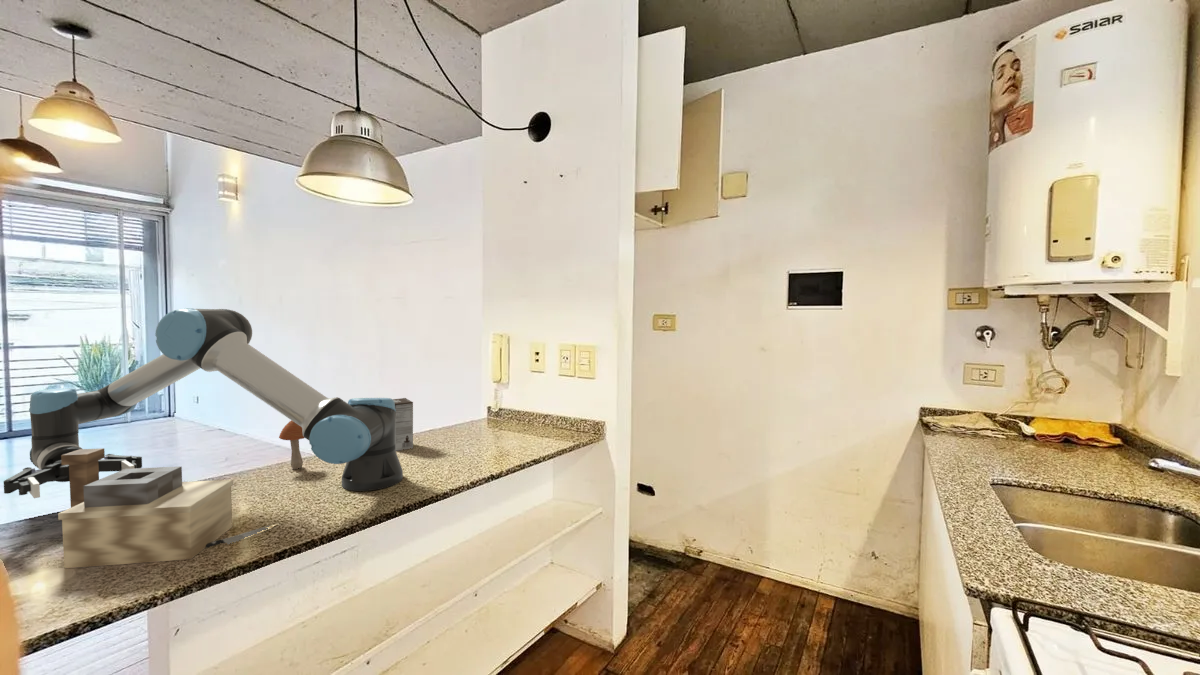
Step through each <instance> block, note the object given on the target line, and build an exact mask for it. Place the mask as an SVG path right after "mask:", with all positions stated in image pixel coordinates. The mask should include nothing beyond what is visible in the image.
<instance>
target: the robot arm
mask: <svg viewBox="0 0 1200 675" xmlns="http://www.w3.org/2000/svg"><path fill="white" fill-rule="evenodd" d="M252 328H253V327H252V324H251V323H250V320H248V319H247V318H246V316H244V314H242V313H240V312H238V311H236V310H233V309H226V308H217V309H215V308H214V309H213V308H212V309H211V308H193V307H188V308H186V307H185V308H183V309H181V308H180V309H175V310H172V311H170V312H168V313H166V314H165V315H163V317H162V318H160V320H159V322H158V324H157V326H156V328H155V334H154V335H155V337H156V339H155V342H156V346H157V348H158V350H159V351H160V352H161V353H162V354H161V355H160V356H157V357H156V358H154V359H151V361H148V362H147V363H145V364H143V365H141V366H140V367H138V368H136V369H135V370H134V369H133V371H131V372H129V373H126V375H123V376H122V377H120V378H118V379H116V380H115V381H112V382H111V383H110V384H107V385H106V386H104V387H102V388H100V389H98V390H94V391H88V392H80V393H78V392H77V390H76V389H74V388H71V387H63V388H62V387H60V388H50V389H48V388H47V389H41V390H36V391H33V392H32V393H31V395H30V401H29V409H28V411H29V415H30V427H31V428H30V429H31V440H30V441H31V447H30V448H31V449H30V450H29V459H30V462H31V464H33V465H34V467H33V468H32V467H27V466H26V467H24V468H22V471H20V472H18V473H15V474H13V475H12V476H11V477H8V478H6V479H4V480H3V494H8V495H9V494H11V493H14V492H15V491H17V490H18V496H24V495H28V493H29V494H30V495H31V496H32V498H34V499H38V498H41V489H40V488H41V487H40V486H41V485H43V484H46V483H53V482H58V483H66V482H67V483H68V482H70V479H69V465H62V462H61V455H64V454H67V453H70V452H73V451H76V450H79V449H83V448H82V447H81V446H80V444H79V443H80V441H79V425H81V424H87V423H89V422H95V421H98V420H105V419H108V418H114V417H119V416H122V415H125V414H128V413H131V412H132V411H134V409H135V408H136V406H137V405H138V403H140V402H142V401H144V400H146V399H147V398H149V397H152V396H153V395H155V394H156V393H158V392H160V391H162V390H163V389H166V388H167V387H170V386H171V385H172V384H175V383H177V382H178V381H180V380H181V379H183V378H186V377H187V376H189V375H191V374H193V373H194V372H196V371H198V370H200V369H202V370H203V371H205V372H208V373H211V372H217V371H218V372H219V373H220V374H222V375H224V376H225V377H226V378H228V379H229V380H231V381H233V383H235V384H237V385H238V386H240V387H242V388H243V389H244V390H245V391H247V392H249V393H250V394H252V395H253V396H255V397H256V398H258V399H260V401H262V402H264V403H265V404H267V405H268V406H270V407H271V408H273V409H274V410H275V411H276V412H278V413H280V414H281V415H282V416H284V417H286V418H287V419H289V421H291V420H292V421H293V422H295V423H296V424H298V425H299V426H301V427H302V433H303V437H304V439H306V440H307V441H308V442H309V445H310V447H311V448H310V449H311V451H312V453H313V454H314V455H315V456H316V457H317V459H319V460H320V461H323V462H325V463H327V464H328V463H329V464H333V465H341V464H345V466H344V469H343V472H342V475H341V487H342V488H343V489H345V490H349V491H353V492H355V491H357V492H358V491H359V492H365V491H376V490H381V489H385V488H388V487H392V486H394V485H398V484H399V483H400V482H401V481H403V478H404V477H403V474H404V473H403V472H404V471H403V468H402V465H401V462H400V459H399V458H398V454H397V451H396V448H395V412H396V409H395V402H394V400H393V399H394V398H393V399H392V398H390V397H358V398H357V397H356V398H350V399H349V400H348V401H347V402H346V401H345V400H343V399H342V398H341V397H331V398H329V397H327V396H325V395H324V394H323V393H321V392H320V391H319V390H317V389H315V388H313V387H312V386H311V385H309V384H308V383H306V381H305V382H304V381H303V380H302V379H301V378H299V377H298V376H296V375H294V373H292V372H290V370H287V369H286V368H284V367H282V366H281V365H280V364H278V363H277V362H275V361H274V360H272V359H271V358H270V357H268V356H267V355H265V354H264V353H262V351H261V352H260V350H258V349H256V348H254V347H253V346H252V345H250V342H251V340H252V337H253V329H252ZM98 466H99V473H100V472H102V473H104V472H119V471H121V470H124V469H133V468H143V456H139V455H138V456H136V455H135V456H133V455H120V454H119V455H117V454H114V453H107V454H105V458H103V459H100V460H98ZM36 468H37V469H36Z"/></svg>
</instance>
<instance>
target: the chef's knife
mask: <svg viewBox="0 0 1200 675" xmlns="http://www.w3.org/2000/svg"><path fill="white" fill-rule="evenodd" d="M269 526H270V525H266V526H262V527H259V528H256V529H252V530H249V531H246V532H243V533H239V534H236V535H232V536H228V537H225V538H222V539H216V540H215V541H214V542H211V543H208V544H207V545H206V547H205V549H206V548H210V546H211V547H214V546H217V545H221V544H225V543H227V544H226V545H231V544H233V543H232V542H234V543H237V542H240V541H242V540H241V539H243V540H245V539H244V538H245V537H248V536H251V535H253V534H257V532H260V531H262V530H266V529H268V528H265V527H269ZM257 535H258V534H257ZM251 537H252V536H251ZM248 538H249V537H248ZM239 540H240V541H239ZM236 541H237V542H236ZM220 543H221V544H220ZM230 543H231V544H230Z"/></svg>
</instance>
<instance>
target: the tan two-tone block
mask: <svg viewBox="0 0 1200 675" xmlns="http://www.w3.org/2000/svg"><path fill="white" fill-rule="evenodd" d="M233 486H234V479H217V480H216V479H215V480H198V481H195V480H194V481H183V467H182V466H166V467H165V466H163V467H157V466H156V467H142V468H133V469H124V470H121V471H115V472H114V473H112V474H110V475H109V474H108V475H107V476H105V477H102V478H99V480H97V481H95V482H92V483H90V484H87V485H85V486H83V488H84V502H83V503H80V504H78V505H76V506H74V507H72V508H71V507H70V508H67V509H65V510H63V511H61V512H59V513H57V515H58V516H57V517H58V518H57V519H58V521H61V528H62V548H63V551H62V552H63V568H64V569H74V568H88V567H100V566H101V567H102V566H116V565H129V564H141V563H145V564H146V563H155V562H168V561H169V562H171V561H183V560H186V561H187V560H192V559H193V558H195V557H196V556H197V555H198V554H199V553H201V552H203V550H204V549H206V548H205V547H206V545H207V544H208V543H211V542H214V541H217V540H218V539H219V538H220V537H221V536H223V535H224V534H225V533H226V532H227V530H228V531H229V530H230V529H232V528H233V506H232V505H233V503H232V499H233V498H232V487H233Z"/></svg>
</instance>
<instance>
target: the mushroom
mask: <svg viewBox="0 0 1200 675" xmlns="http://www.w3.org/2000/svg"><path fill="white" fill-rule="evenodd" d="M278 439H280V440H282V441H289V442H290V448H291V449H290V450H291V457H290V466H291V469H292V468H293V469H292V470H299V469H301V468H302V467H303V463H304V462H303V457H302V454H301V450H300V440H302V439H303V440H305V438H304V437H303V433H302V427H301V426H299V425H298V424H296V423H295V422H293V421H292V420H289V421H288V423H287V424H286V425H284V427H283V428H282V429H281V431H280V433H279V436H278ZM298 468H299V469H298Z"/></svg>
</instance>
